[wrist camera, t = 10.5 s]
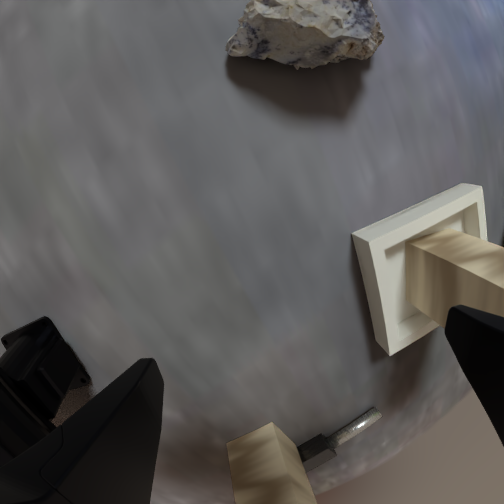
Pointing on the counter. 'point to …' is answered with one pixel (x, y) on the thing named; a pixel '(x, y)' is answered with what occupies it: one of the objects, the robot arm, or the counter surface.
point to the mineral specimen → (307, 31)
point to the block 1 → (268, 469)
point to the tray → (394, 259)
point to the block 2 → (454, 274)
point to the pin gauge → (333, 441)
